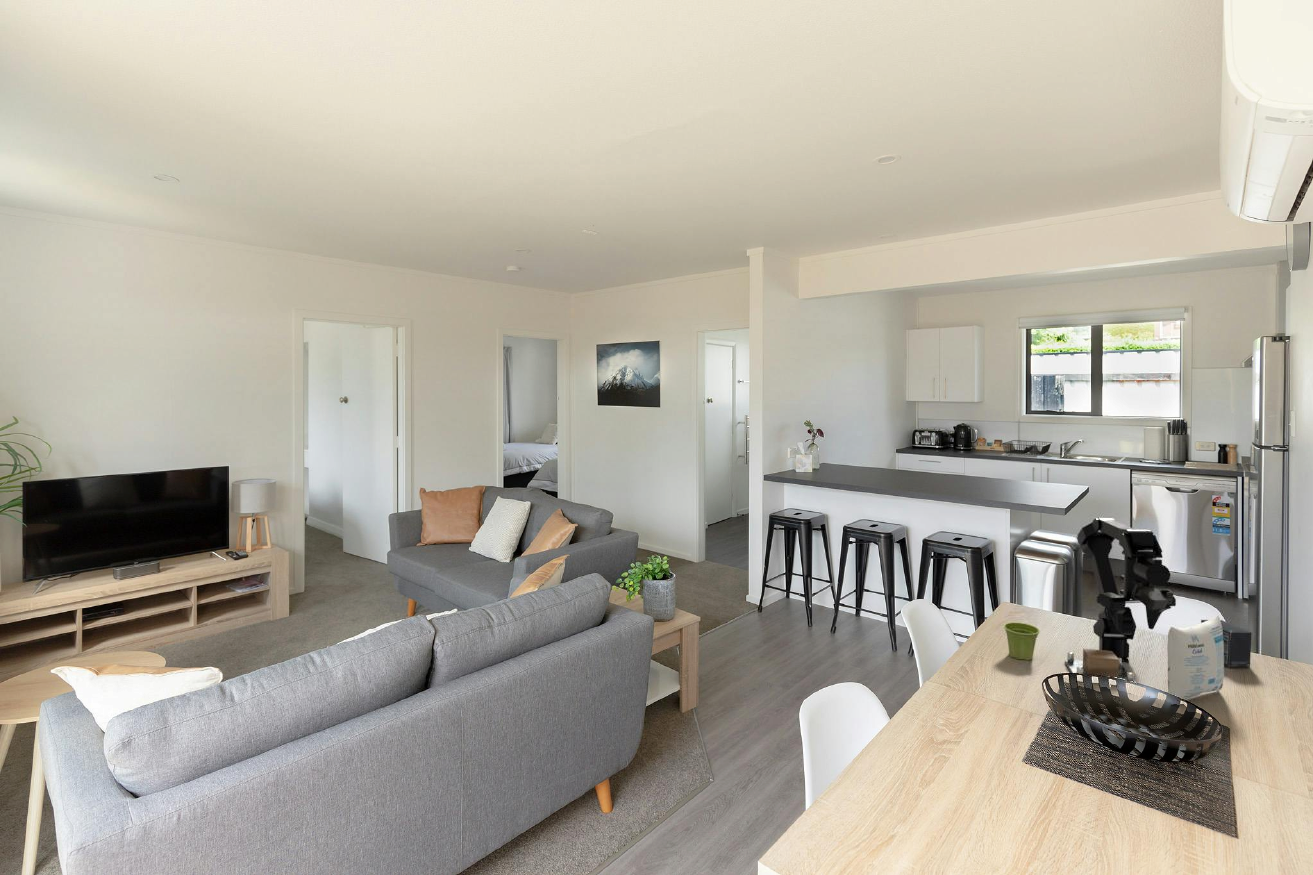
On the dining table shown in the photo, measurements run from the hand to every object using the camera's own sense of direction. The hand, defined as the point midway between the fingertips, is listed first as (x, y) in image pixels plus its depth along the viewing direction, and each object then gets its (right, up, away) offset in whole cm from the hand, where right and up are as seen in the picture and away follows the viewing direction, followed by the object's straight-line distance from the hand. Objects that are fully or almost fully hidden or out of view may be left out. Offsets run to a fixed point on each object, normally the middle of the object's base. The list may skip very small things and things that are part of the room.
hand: (1134, 629), depth 182 cm
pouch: (+5, -14, -14) cm, 20 cm away
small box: (+32, -12, +8) cm, 35 cm away
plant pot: (-23, -12, +15) cm, 30 cm away
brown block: (-9, -12, +1) cm, 15 cm away
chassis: (-9, -13, +1) cm, 16 cm away
